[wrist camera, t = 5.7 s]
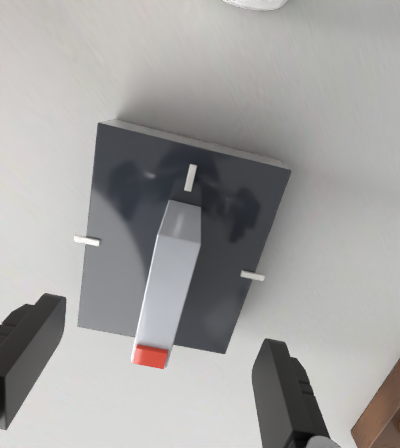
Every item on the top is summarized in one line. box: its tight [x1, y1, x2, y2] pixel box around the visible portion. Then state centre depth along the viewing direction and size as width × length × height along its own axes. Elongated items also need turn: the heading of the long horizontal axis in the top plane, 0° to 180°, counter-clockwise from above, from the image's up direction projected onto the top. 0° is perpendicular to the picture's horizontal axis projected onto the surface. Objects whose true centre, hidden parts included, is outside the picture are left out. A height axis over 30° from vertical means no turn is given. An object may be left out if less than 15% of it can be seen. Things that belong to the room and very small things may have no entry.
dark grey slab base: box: [74, 119, 291, 354], centre depth 19 cm, size 13×11×3 cm
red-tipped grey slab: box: [131, 200, 201, 369], centre depth 15 cm, size 7×2×5 cm, turn 166°
